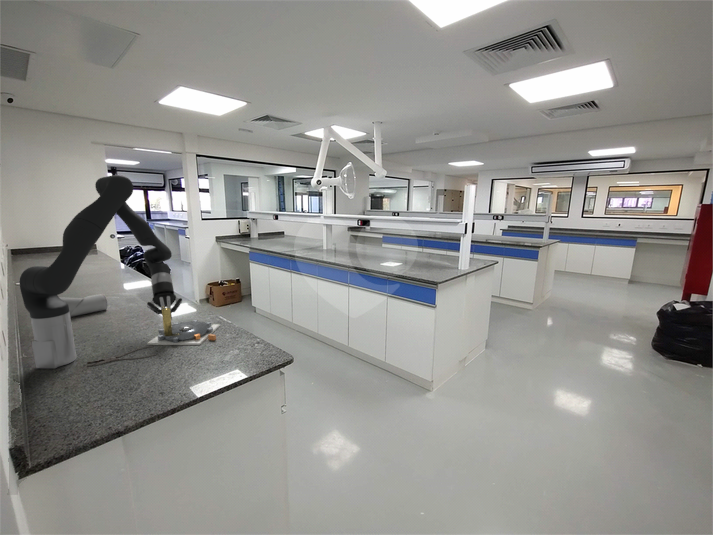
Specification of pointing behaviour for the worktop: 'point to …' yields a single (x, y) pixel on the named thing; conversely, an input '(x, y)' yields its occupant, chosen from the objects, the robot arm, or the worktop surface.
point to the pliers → (116, 358)
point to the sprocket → (182, 329)
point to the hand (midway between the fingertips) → (168, 321)
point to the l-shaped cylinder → (86, 304)
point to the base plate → (186, 342)
